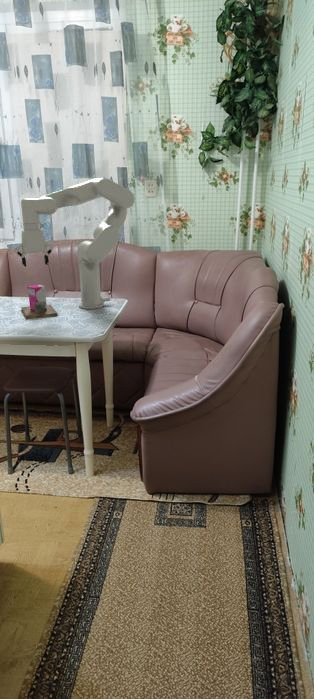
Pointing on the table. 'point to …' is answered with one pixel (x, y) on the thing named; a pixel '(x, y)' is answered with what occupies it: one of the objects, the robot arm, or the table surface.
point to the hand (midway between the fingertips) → (35, 265)
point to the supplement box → (36, 295)
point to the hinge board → (39, 311)
